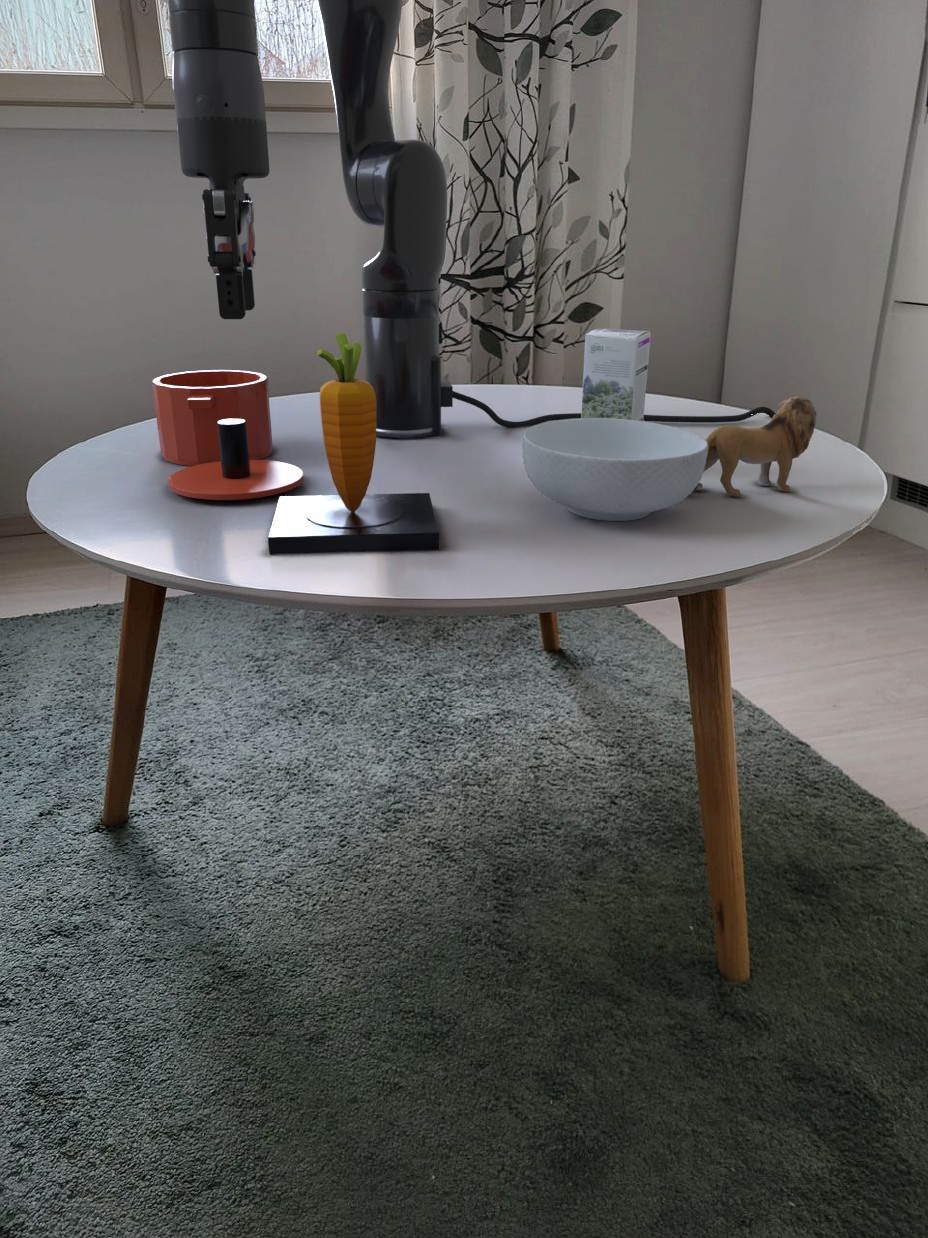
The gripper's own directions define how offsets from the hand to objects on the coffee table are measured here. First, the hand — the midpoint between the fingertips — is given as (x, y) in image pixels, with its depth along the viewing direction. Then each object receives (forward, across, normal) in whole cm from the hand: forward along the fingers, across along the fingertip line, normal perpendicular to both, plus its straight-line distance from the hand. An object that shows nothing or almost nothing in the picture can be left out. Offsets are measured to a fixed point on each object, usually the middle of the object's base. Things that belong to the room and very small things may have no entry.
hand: (238, 314), depth 86 cm
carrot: (+16, -13, -10) cm, 23 cm away
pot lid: (+16, +2, +2) cm, 17 cm away
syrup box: (+17, +7, -38) cm, 42 cm away
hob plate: (+17, -13, -10) cm, 24 cm away
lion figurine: (+17, -3, -50) cm, 53 cm away
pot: (+17, +17, +6) cm, 25 cm away
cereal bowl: (+17, -9, -34) cm, 39 cm away
